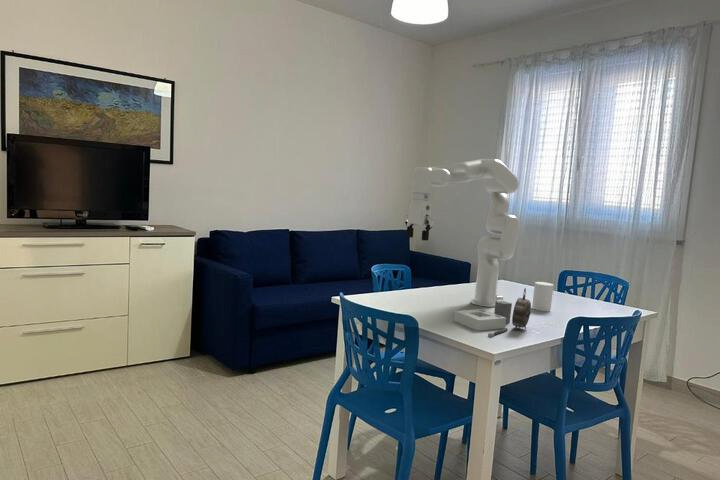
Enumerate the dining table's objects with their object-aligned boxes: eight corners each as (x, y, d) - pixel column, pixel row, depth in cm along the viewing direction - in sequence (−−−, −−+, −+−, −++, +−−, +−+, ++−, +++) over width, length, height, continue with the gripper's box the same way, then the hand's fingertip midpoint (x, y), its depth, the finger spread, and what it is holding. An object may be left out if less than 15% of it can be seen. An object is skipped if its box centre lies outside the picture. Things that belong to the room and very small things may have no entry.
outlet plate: (480, 318, 213) (481, 308, 213) (505, 328, 201) (506, 317, 201) (453, 320, 206) (454, 310, 206) (477, 330, 194) (479, 319, 194)
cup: (551, 309, 243) (554, 283, 242) (549, 312, 236) (552, 286, 235) (533, 306, 247) (536, 281, 245) (531, 309, 239) (533, 283, 238)
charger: (501, 319, 214) (503, 300, 213) (509, 322, 210) (511, 303, 210) (493, 320, 212) (495, 301, 211) (501, 323, 208) (503, 303, 207)
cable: (504, 330, 198) (505, 327, 198) (508, 331, 197) (508, 328, 197) (488, 336, 188) (488, 333, 187) (491, 337, 187) (491, 334, 186)
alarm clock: (516, 325, 207) (521, 285, 206) (530, 327, 205) (535, 287, 203) (509, 330, 198) (514, 288, 196) (524, 333, 195) (529, 291, 194)
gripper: (442, 199, 209) (438, 241, 211) (414, 196, 224) (410, 236, 225) (427, 198, 205) (424, 241, 207) (400, 195, 219) (397, 236, 221)
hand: (417, 238), depth 216 cm, fingers open, 9 cm apart
